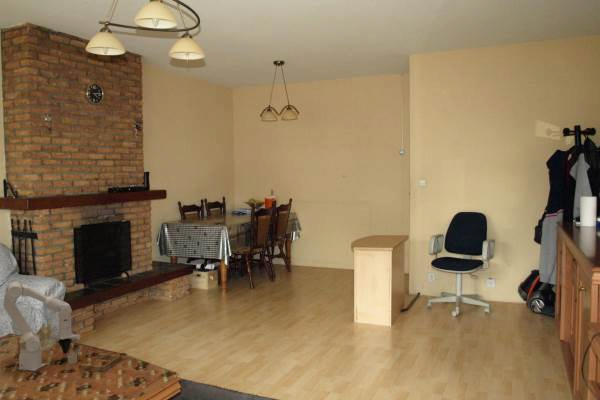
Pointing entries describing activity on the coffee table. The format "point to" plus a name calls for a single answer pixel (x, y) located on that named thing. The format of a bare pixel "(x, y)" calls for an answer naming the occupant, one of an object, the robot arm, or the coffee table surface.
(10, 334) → the coffee table surface
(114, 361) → the holder
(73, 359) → the lighter
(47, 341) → the ceramic cottage
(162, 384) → the coffee table surface
